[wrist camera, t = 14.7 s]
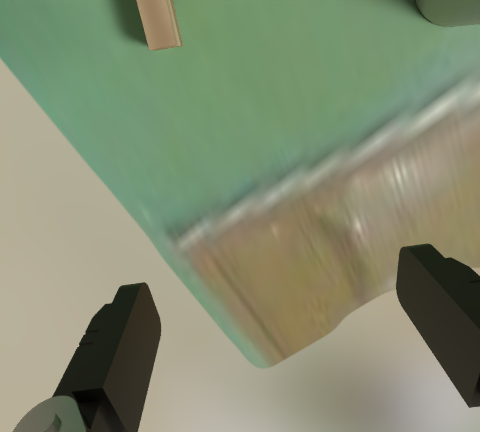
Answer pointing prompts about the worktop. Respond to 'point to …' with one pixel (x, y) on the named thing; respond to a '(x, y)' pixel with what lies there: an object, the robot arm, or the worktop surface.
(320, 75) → the worktop surface
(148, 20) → the wooden pusher
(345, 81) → the worktop surface
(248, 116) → the worktop surface
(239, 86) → the worktop surface
